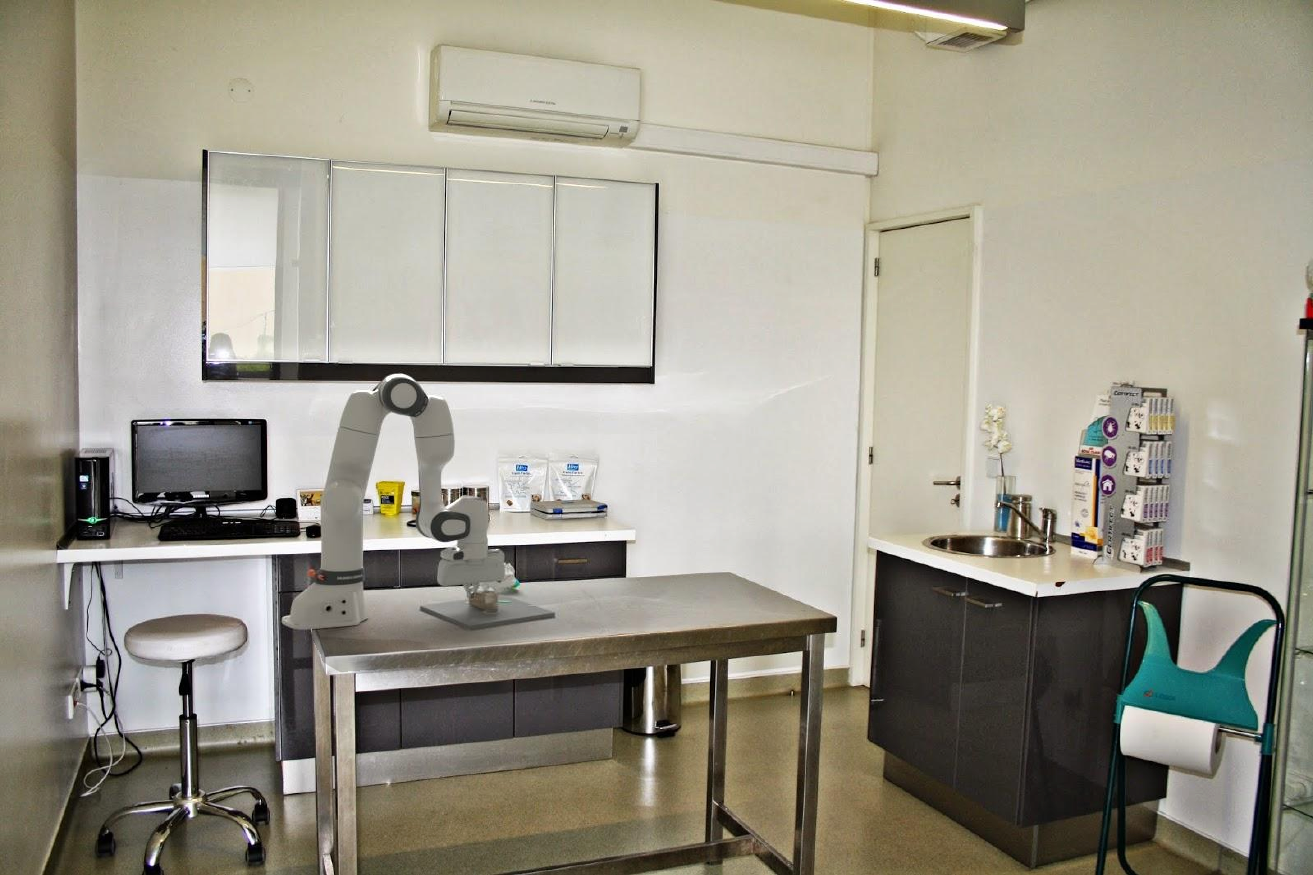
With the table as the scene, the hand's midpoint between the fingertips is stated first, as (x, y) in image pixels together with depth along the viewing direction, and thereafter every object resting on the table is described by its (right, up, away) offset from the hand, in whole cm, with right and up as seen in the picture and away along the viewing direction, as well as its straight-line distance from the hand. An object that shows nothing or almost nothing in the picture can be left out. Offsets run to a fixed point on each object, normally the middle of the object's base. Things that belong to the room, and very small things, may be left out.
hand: (471, 598), depth 291 cm
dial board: (+5, -4, -2) cm, 7 cm away
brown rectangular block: (+4, -2, -2) cm, 5 cm away
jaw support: (+5, -3, +30) cm, 30 cm away
